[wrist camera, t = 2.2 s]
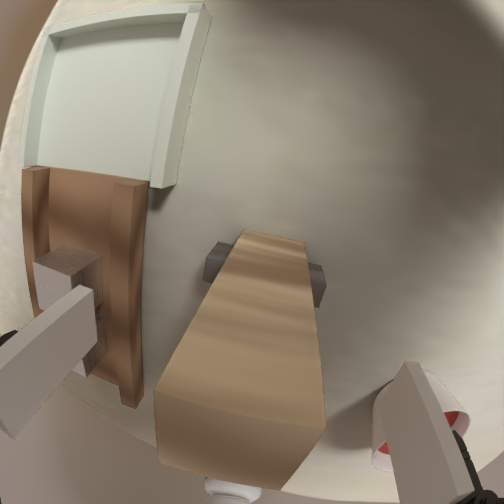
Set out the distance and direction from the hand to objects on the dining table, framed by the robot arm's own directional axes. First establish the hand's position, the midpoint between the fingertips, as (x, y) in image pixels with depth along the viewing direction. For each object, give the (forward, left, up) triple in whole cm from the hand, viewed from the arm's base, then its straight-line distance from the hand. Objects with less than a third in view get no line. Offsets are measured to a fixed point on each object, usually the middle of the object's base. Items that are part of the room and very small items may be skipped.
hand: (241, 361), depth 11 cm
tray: (-10, -14, -10) cm, 20 cm away
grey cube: (+4, -14, -9) cm, 17 cm away
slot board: (+6, -14, -10) cm, 18 cm away
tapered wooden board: (0, 0, -10) cm, 10 cm away
